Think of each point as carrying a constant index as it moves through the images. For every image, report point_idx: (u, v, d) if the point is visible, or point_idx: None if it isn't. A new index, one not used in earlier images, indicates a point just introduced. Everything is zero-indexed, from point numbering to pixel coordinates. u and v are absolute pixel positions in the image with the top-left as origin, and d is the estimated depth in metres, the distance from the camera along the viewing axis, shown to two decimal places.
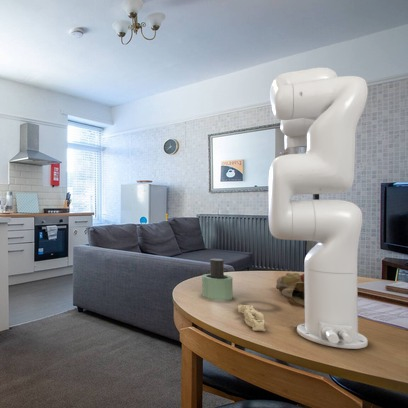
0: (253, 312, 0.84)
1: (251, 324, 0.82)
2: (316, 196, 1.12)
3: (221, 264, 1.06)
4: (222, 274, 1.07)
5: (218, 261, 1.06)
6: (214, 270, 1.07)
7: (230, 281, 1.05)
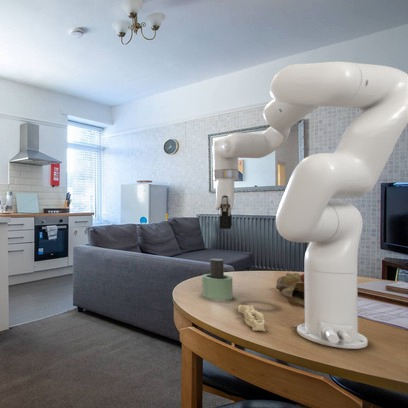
0: (253, 312, 0.84)
1: (251, 324, 0.82)
2: None
3: (221, 264, 1.06)
4: (222, 274, 1.07)
5: (218, 261, 1.06)
6: (214, 270, 1.07)
7: (230, 281, 1.05)
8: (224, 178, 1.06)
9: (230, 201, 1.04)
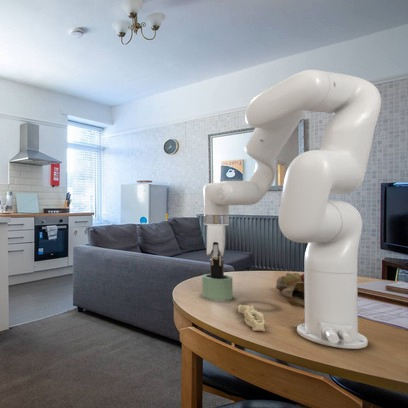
0: (253, 312, 0.84)
1: (251, 324, 0.82)
2: (211, 271, 1.07)
3: (221, 264, 1.06)
4: (222, 274, 1.07)
5: None
6: None
7: (230, 281, 1.05)
8: (215, 224, 1.05)
9: (221, 248, 1.03)
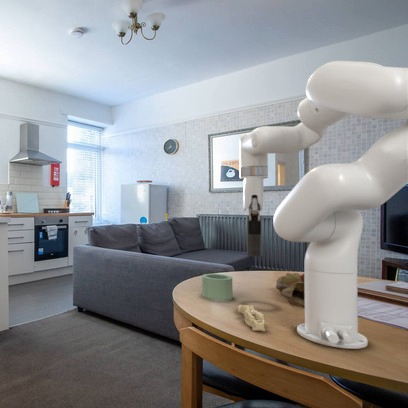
0: (253, 312, 0.84)
1: (251, 324, 0.82)
2: (248, 227, 0.99)
3: None
4: None
5: None
6: None
7: (230, 281, 1.05)
8: (253, 176, 0.97)
9: (260, 201, 0.95)
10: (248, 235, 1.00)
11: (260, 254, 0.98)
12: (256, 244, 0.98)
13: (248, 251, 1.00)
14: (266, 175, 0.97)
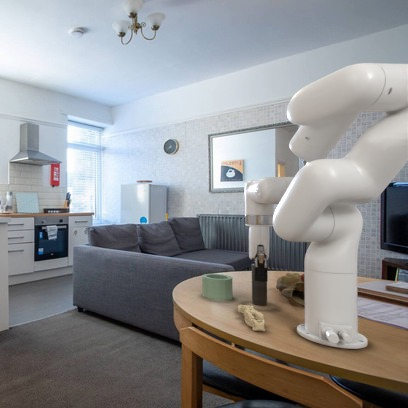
0: (253, 312, 0.84)
1: (251, 324, 0.82)
2: None
3: None
4: None
5: None
6: None
7: (230, 281, 1.05)
8: (259, 225, 0.96)
9: (266, 251, 0.94)
10: (253, 284, 0.99)
11: (265, 304, 0.97)
12: (261, 294, 0.97)
13: (253, 300, 0.99)
14: (272, 224, 0.96)
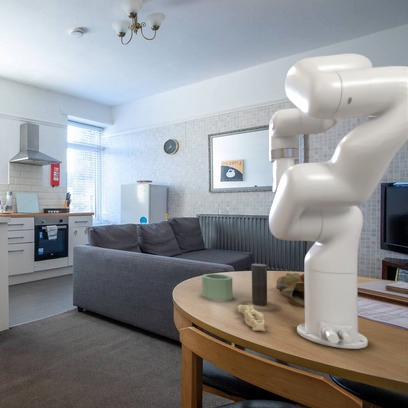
0: (253, 312, 0.84)
1: (251, 324, 0.82)
2: None
3: (265, 270, 0.97)
4: (266, 281, 0.98)
5: (261, 267, 0.97)
6: (257, 276, 0.98)
7: (230, 281, 1.05)
8: (284, 158, 0.98)
9: None
10: (253, 284, 0.99)
11: (265, 304, 0.97)
12: (261, 294, 0.97)
13: (253, 300, 0.99)
14: (297, 157, 0.98)
